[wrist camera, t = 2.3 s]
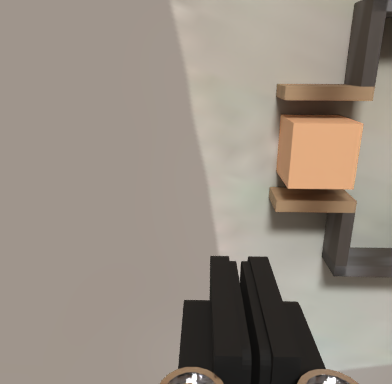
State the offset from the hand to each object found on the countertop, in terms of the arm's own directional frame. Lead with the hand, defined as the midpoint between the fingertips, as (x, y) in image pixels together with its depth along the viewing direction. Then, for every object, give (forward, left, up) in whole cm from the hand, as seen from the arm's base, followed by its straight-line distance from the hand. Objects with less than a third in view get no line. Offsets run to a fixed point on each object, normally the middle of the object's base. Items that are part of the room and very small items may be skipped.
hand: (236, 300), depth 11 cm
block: (-8, 0, -23) cm, 24 cm away
